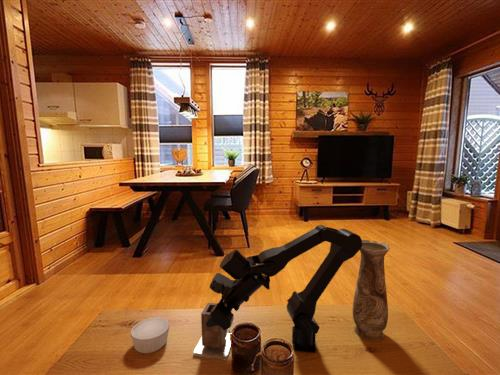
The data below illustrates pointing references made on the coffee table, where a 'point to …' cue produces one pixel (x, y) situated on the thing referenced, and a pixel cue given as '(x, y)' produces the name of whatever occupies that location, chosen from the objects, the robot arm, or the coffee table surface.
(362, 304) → the vase
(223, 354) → the glossy square coaster
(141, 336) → the ramekin
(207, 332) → the square pencil cup
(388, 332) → the coffee table surface
